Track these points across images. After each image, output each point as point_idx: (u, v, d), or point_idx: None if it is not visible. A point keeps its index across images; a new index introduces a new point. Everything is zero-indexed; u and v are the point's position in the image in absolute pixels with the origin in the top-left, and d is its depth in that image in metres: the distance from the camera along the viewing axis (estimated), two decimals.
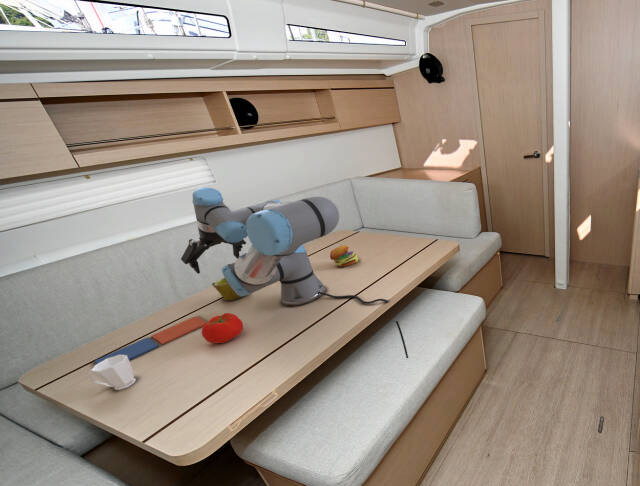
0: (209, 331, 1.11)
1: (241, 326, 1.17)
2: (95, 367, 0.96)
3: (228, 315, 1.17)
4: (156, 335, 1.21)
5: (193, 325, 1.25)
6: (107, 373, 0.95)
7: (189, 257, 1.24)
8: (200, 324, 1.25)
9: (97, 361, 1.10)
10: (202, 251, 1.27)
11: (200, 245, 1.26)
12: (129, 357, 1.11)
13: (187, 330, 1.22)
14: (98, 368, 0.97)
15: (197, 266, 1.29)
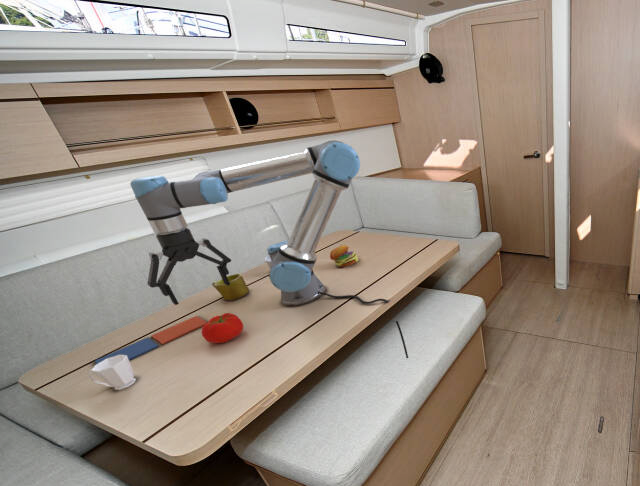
0: (209, 331, 1.11)
1: (241, 326, 1.17)
2: (95, 367, 0.96)
3: (228, 315, 1.17)
4: (156, 335, 1.21)
5: (193, 325, 1.25)
6: (107, 373, 0.95)
7: (153, 276, 1.00)
8: (200, 324, 1.25)
9: (97, 361, 1.10)
10: (170, 268, 1.03)
11: (167, 262, 1.04)
12: (129, 357, 1.11)
13: (187, 330, 1.22)
14: (98, 368, 0.97)
15: (170, 292, 1.04)
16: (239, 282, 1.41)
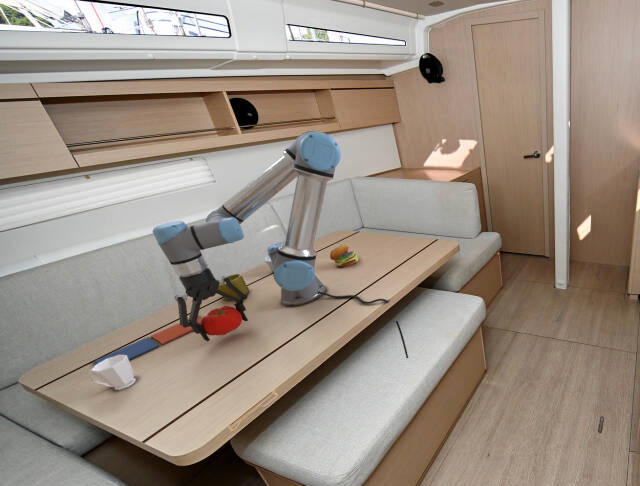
0: (207, 323, 1.10)
1: (240, 318, 1.16)
2: (95, 367, 0.96)
3: (227, 307, 1.16)
4: (156, 335, 1.21)
5: None
6: (107, 373, 0.95)
7: (184, 317, 1.06)
8: None
9: (97, 361, 1.10)
10: (197, 307, 1.08)
11: (193, 302, 1.09)
12: (129, 357, 1.11)
13: (187, 330, 1.22)
14: (98, 368, 0.97)
15: (202, 330, 1.10)
16: (239, 282, 1.41)
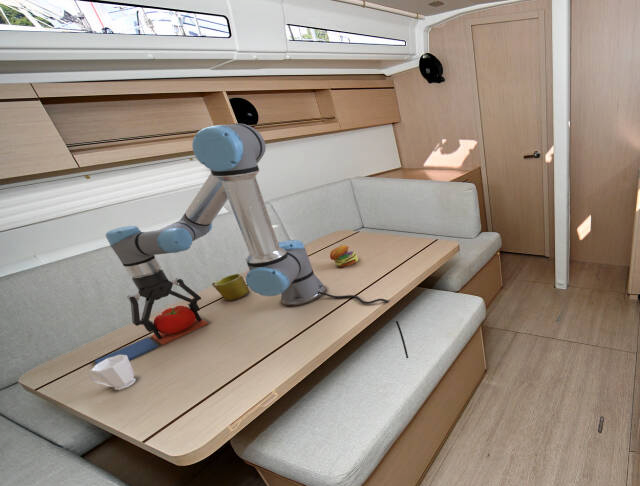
0: (160, 322, 1.17)
1: (193, 318, 1.23)
2: (95, 367, 0.96)
3: (180, 307, 1.23)
4: None
5: (193, 325, 1.25)
6: (107, 373, 0.95)
7: (136, 316, 1.13)
8: (200, 324, 1.25)
9: (97, 361, 1.10)
10: (149, 307, 1.15)
11: (146, 302, 1.16)
12: (129, 357, 1.11)
13: (187, 330, 1.22)
14: (98, 368, 0.97)
15: (154, 328, 1.17)
16: (239, 282, 1.41)
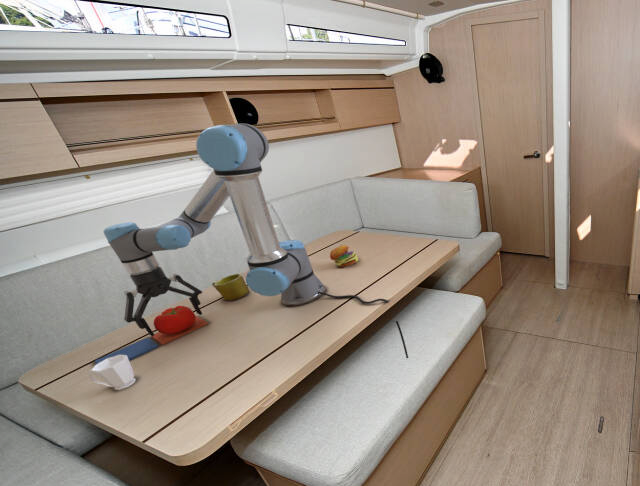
0: (160, 322, 1.17)
1: (193, 318, 1.23)
2: (95, 367, 0.96)
3: (180, 307, 1.23)
4: (156, 335, 1.21)
5: (193, 325, 1.25)
6: (107, 373, 0.95)
7: (129, 312, 1.11)
8: (200, 324, 1.25)
9: (97, 361, 1.10)
10: (144, 304, 1.14)
11: (142, 298, 1.15)
12: (129, 357, 1.11)
13: (187, 330, 1.22)
14: (98, 368, 0.97)
15: (146, 325, 1.15)
16: (239, 282, 1.41)
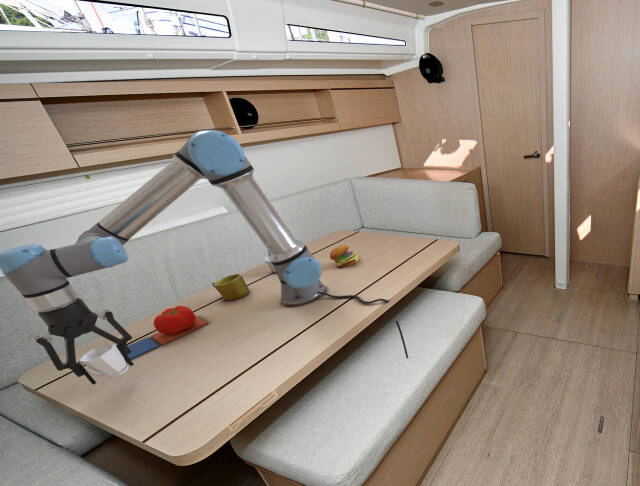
0: (160, 322, 1.17)
1: (193, 318, 1.23)
2: (83, 357, 0.93)
3: (180, 307, 1.23)
4: (156, 335, 1.21)
5: (193, 325, 1.25)
6: (96, 363, 0.93)
7: (55, 360, 0.88)
8: (200, 324, 1.25)
9: None
10: (70, 347, 0.90)
11: (65, 341, 0.90)
12: (129, 357, 1.11)
13: (187, 330, 1.22)
14: (87, 358, 0.94)
15: (85, 372, 0.93)
16: (239, 282, 1.41)
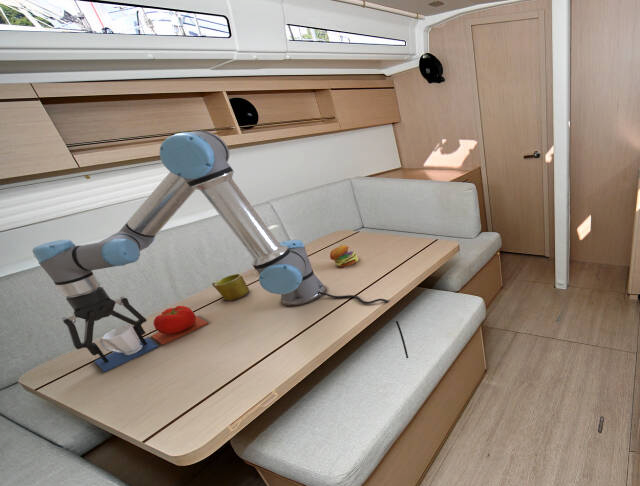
0: (160, 322, 1.17)
1: (193, 318, 1.23)
2: (105, 336, 1.09)
3: (180, 307, 1.23)
4: (156, 335, 1.21)
5: (193, 325, 1.25)
6: (116, 341, 1.08)
7: (75, 339, 1.03)
8: (200, 324, 1.25)
9: (97, 361, 1.10)
10: (90, 328, 1.05)
11: (86, 323, 1.05)
12: (129, 357, 1.11)
13: (187, 330, 1.22)
14: (108, 337, 1.10)
15: (99, 351, 1.07)
16: (239, 282, 1.41)
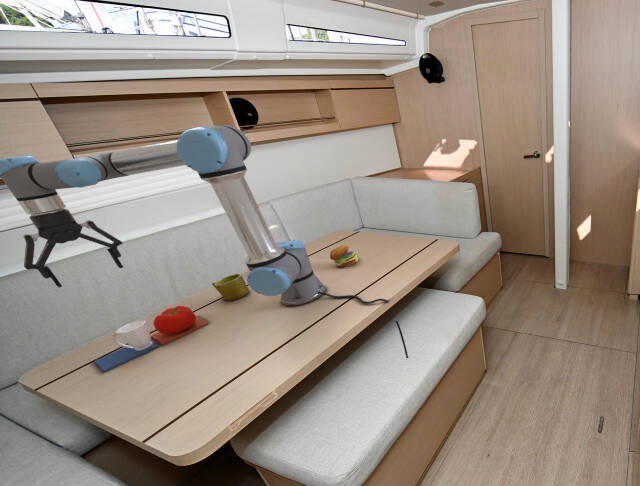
0: (160, 322, 1.17)
1: (193, 318, 1.23)
2: (119, 330, 1.11)
3: (180, 307, 1.23)
4: (156, 335, 1.21)
5: (193, 325, 1.25)
6: (129, 335, 1.10)
7: (28, 258, 0.99)
8: (200, 324, 1.25)
9: (97, 361, 1.10)
10: (48, 250, 1.02)
11: (46, 244, 1.03)
12: (129, 357, 1.11)
13: (187, 330, 1.22)
14: (121, 331, 1.12)
15: (51, 274, 1.03)
16: (239, 282, 1.41)
